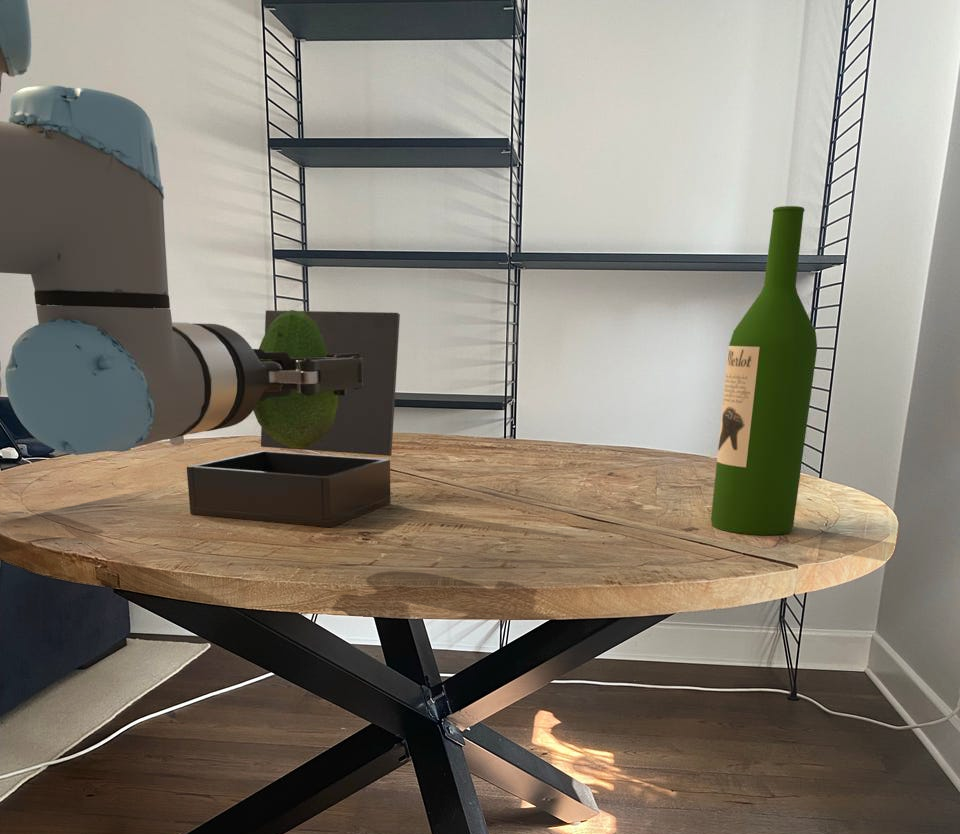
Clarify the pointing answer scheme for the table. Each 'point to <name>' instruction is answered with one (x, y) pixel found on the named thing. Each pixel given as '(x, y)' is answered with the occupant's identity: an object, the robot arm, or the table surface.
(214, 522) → the table surface
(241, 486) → the tin
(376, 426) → the tin lid
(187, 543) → the table surface
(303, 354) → the avocado
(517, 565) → the table surface
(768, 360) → the wine bottle
